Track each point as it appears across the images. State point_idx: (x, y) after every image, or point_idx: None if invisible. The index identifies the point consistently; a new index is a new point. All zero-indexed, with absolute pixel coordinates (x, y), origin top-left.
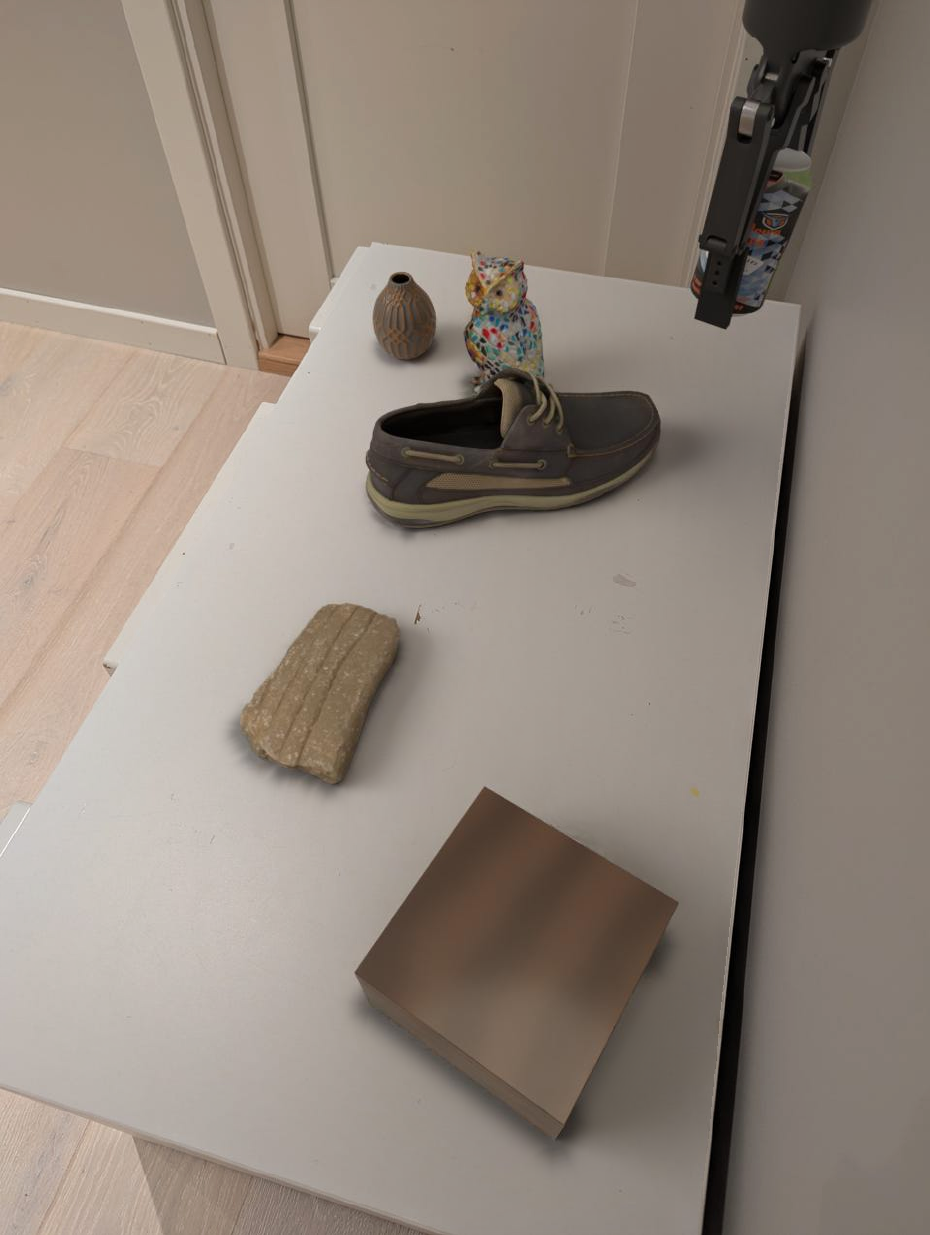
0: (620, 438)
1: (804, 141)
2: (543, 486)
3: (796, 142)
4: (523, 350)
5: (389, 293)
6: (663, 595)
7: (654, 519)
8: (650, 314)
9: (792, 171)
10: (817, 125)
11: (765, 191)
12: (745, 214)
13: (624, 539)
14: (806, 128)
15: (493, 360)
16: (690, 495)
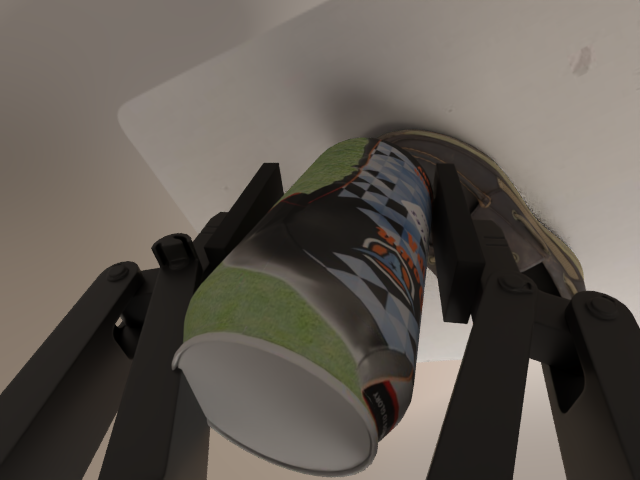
0: (429, 168)
1: (130, 371)
2: (515, 197)
3: (180, 404)
4: None
5: None
6: (595, 7)
7: (471, 81)
8: (214, 215)
9: (339, 382)
10: (35, 365)
11: (411, 370)
12: (635, 403)
13: (515, 94)
14: (118, 424)
15: None
16: (417, 65)
